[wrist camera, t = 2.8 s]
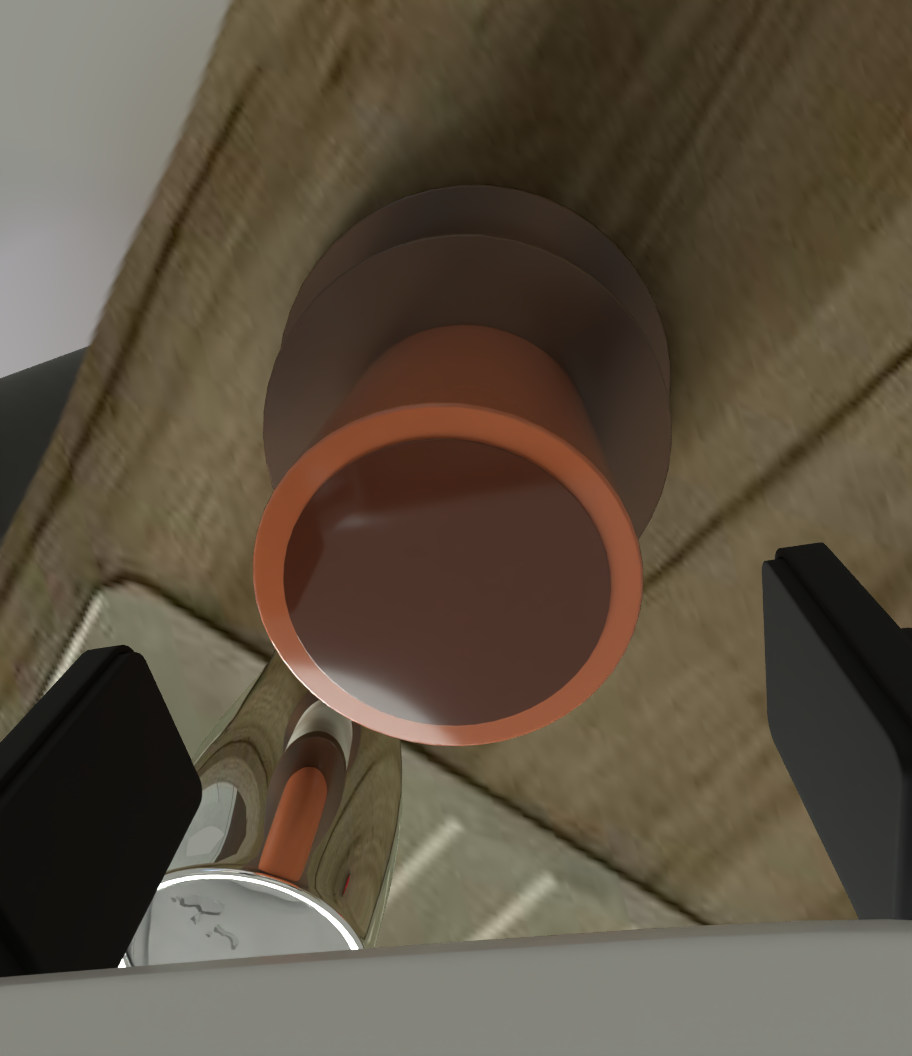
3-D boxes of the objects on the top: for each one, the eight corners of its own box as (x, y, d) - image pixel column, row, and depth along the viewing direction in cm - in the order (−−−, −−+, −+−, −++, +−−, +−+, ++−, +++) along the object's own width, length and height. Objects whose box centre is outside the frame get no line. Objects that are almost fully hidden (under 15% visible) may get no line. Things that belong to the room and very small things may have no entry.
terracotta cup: (289, 461, 21) (176, 603, 14) (452, 264, 18) (421, 309, 11) (474, 607, 23) (462, 804, 15) (646, 445, 20) (729, 587, 13)
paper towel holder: (214, 406, 28) (129, 468, 21) (455, 83, 23) (437, 40, 16) (485, 619, 31) (482, 729, 25) (745, 378, 26) (824, 437, 20)
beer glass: (390, 719, 33) (317, 1077, 20) (250, 660, 33) (72, 995, 19) (456, 604, 31) (422, 930, 17) (305, 536, 30) (141, 824, 16)
